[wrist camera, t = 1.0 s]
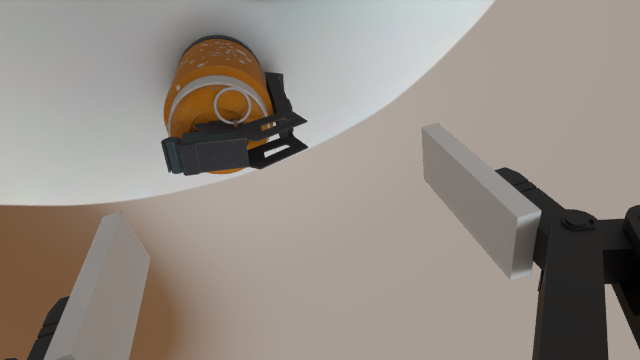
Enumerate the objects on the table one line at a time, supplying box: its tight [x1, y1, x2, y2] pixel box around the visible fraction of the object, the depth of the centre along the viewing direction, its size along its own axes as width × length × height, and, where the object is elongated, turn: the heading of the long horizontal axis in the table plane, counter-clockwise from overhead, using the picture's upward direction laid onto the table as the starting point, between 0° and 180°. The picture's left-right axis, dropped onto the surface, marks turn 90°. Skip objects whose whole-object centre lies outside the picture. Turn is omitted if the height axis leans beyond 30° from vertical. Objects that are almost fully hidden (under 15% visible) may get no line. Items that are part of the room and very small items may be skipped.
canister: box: [161, 36, 308, 176], centre depth 35 cm, size 9×11×20 cm
